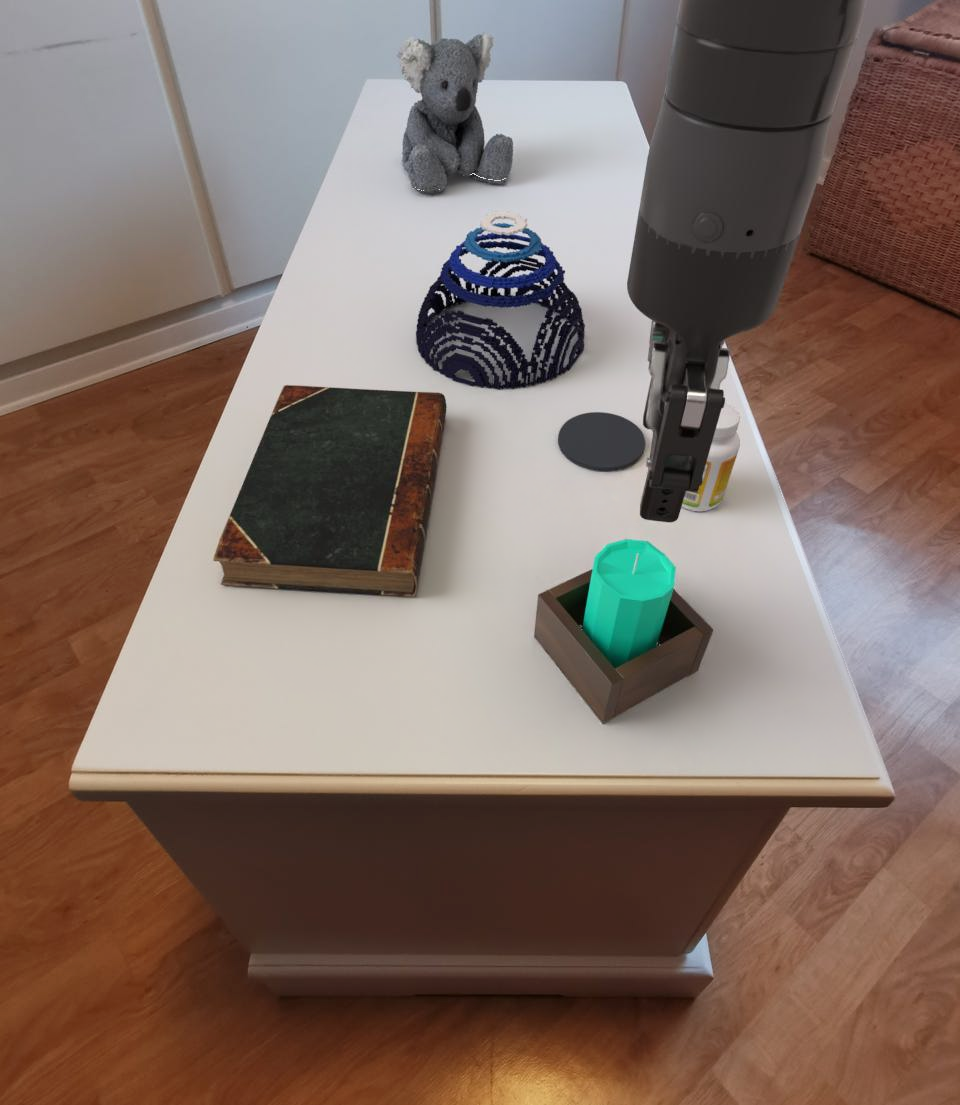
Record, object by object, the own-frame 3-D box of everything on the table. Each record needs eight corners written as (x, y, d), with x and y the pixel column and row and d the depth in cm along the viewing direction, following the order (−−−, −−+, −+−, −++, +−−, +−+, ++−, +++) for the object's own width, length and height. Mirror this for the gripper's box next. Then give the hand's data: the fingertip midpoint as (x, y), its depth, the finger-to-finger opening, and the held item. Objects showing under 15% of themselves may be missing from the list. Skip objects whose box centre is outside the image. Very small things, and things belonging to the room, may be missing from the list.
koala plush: (415, 201, 120) (407, 56, 105) (381, 158, 131) (370, 22, 116) (518, 184, 124) (524, 43, 110) (476, 144, 135) (477, 11, 121)
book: (289, 410, 84) (220, 586, 67) (282, 383, 82) (209, 558, 65) (447, 419, 83) (418, 598, 67) (447, 391, 81) (416, 570, 64)
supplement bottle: (714, 474, 78) (738, 394, 70) (729, 511, 74) (756, 431, 67) (661, 476, 77) (680, 396, 70) (673, 514, 74) (695, 434, 67)
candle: (610, 697, 60) (633, 600, 51) (562, 644, 63) (577, 545, 55) (667, 662, 62) (699, 563, 53) (618, 612, 66) (641, 512, 57)
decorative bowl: (385, 360, 91) (374, 241, 80) (463, 283, 103) (461, 171, 92) (542, 407, 85) (552, 285, 74) (605, 319, 97) (621, 204, 86)
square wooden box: (625, 591, 67) (634, 548, 63) (698, 670, 62) (714, 629, 58) (533, 636, 64) (537, 594, 60) (602, 724, 58) (612, 684, 54)
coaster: (609, 407, 85) (610, 402, 84) (662, 453, 80) (663, 448, 79) (541, 433, 82) (541, 428, 81) (591, 483, 77) (592, 478, 76)
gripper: (825, 292, 31) (725, 561, 43) (788, 154, 40) (714, 406, 52) (636, 275, 32) (590, 544, 44) (643, 144, 41) (603, 394, 53)
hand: (658, 469), depth 48 cm, fingers open, 8 cm apart
